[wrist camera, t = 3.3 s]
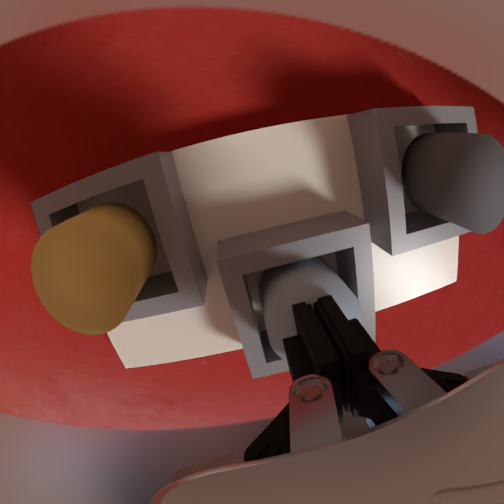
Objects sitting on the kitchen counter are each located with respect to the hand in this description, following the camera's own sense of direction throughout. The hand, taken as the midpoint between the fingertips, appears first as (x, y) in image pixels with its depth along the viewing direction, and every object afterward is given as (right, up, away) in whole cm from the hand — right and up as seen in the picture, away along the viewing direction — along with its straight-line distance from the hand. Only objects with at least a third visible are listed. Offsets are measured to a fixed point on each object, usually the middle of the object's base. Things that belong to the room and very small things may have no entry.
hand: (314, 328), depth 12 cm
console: (-1, +4, +5) cm, 7 cm away
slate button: (0, +1, +4) cm, 4 cm away
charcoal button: (+7, +7, 0) cm, 10 cm away
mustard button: (-9, +3, 0) cm, 10 cm away
